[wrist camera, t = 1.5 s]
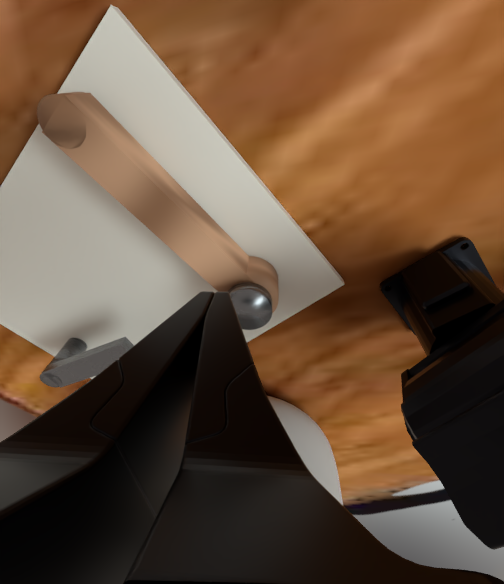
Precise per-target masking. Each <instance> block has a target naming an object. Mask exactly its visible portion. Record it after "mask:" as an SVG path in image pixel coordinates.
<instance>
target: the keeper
mask: <svg viewBox="0 0 504 584" xmlns="http://www.w3.org/2000/svg"><path fill="white" fill-rule="evenodd" d="M228 292H229V294H230V296H231V299H232V302H233V305H234V308H235V311H236V313H237V316H238V319H239V322H240V325H241V328H242V329H244V330H254V329H258V328H261V327H263V326H264V325H266V324H267V323H268V322H269V321H270V319H271V317H272V304H273V301H272V297H271V295H270V293H269V292H268V290H267V289H265V288H264V287H263V286H261V285H259V284H256V283H251V282H243V283H239V284H236V285H234V286H233V287H231V288H230V289H229V290H228ZM133 346H134V345H133V344H132V343H131V342H130V341H129V340H128V339H127V338H126V337H123V338H120V339H117V340H114V341H112V342H109V343H106V344H104V345H101V346H98V347H96V348H93V349H90V350H87V351H86V349H87V344H86V343H85V342H84V341H83V340H81V339H79V338H70V339H68V341H67V342H66V343H65V344H64V346H63V347H62V348H61V350H60V351H59V352H58V353H57V355H56V356H55V357H54V358H53V360H52V361H51V362H50V364H49V365H47V367H46V368H45V369H44V371H43V372H42V374H41V375H40V379H41V381H42V382H43V383H45V384H46V385H48V386H51V387H63V386H66V385H69V384H72V383H75V382H78V381H81V380H84V379H87V378H90V377H94V376H97V375H98V374H99V373H101V372H102V371H103V370H104V369H106V368H107V367H108V366H109V365H111V364H112V363H113V362H114V361H116V360H119V357H121V356H122V355H123V354H124V353H126V352H127V351H128V350H129V349H131V348H132V347H133Z"/></svg>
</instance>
